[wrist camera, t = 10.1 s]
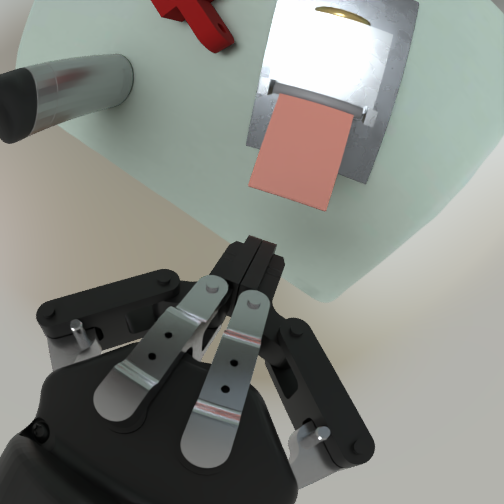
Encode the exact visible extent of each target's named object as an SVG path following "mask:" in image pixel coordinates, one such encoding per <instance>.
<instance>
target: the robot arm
mask: <svg viewBox="0 0 504 504" xmlns="http://www.w3.org/2000/svg"><path fill="white" fill-rule="evenodd" d="M132 82H133V72H132V67H131V65H130V63H129V61H128V60H127V59H126V58H125V57H124V56H122V55H119V54H108V55H93V56H84V57H75V58H68V59H62V60H56V61H50V62H45V63H41V64H36V65H31V66H27V67H23V68H19V69H16V70H13V71H9V72H6V73H3V74H0V139H1V140H3V142H5V143H8V144H11V143H15V142H17V141H19V140H22V139H24V138H26V137H28V136H31V135H33V134H35V133H37V132H40V131H42V130H44V129H47V128H49V127H52V126H55V125H57V124H60V123H63V122H65V121H68V120H71V119H74V118H77V117H80V116H83V115H86V114H89V113H93V112H96V111H100V110H103V109H107V108H110V107H114V106H117V105H119V104H121V103H122V102H123V101H124V100H125V99H126V98H127V96H128V94H129V92H130V90H131V87H132ZM276 246H277V244H274V243H271V242H268V241H265V240H262V239H259V238H256V237H253V236H250V235H249V236H248V238H247V239H246V241H245V243H241V242H238V241H236V242H234V243H232V244H230V245H229V246H228V248H227V249H226V251H225V253H223V255H222V257H221V258H220V259H219V261H218V262H217V264H216V265H215V267H214V268H213V270H212V271H211V273H210V274H209V275H207V276H204V277H202V278H201V279H199V281H197V282H188V281H180V279H179V276H178V275H177V273H175V272H174V271H172V270H169V269H160V270H157V271H153V272H149V273H146V274H142V275H138V276H135V277H131V278H128V279H124V280H121V281H117V282H113V283H110V284H106V285H103V286H99V287H96V288H92V289H89V290H85V291H82V292H78V293H75V294H72V295H68V296H64V297H61V298H57V299H54V300H50V301H47V302H45V303H43V304H42V305H41V306H40V307H39V309H38V311H37V314H36V319H37V321H38V323H39V325H40V326H41V328H42V330H43V332H44V334H45V336H46V337H47V340H48V347H49V353H50V358H51V363H52V369H53V372H52V373H51V374H50V375H49V376H48V377H47V378H46V380H45V381H44V383H43V386H42V390H41V397H40V403H39V408H38V411H37V414H36V417H35V419H34V420H33V421H32V423H31V424H30V425H28V426H27V427H26V428H25V429H24V430H22V431H21V432H19V433H18V434H16V435H15V436H14V437H13V438H12V439H11V440H10V441H9V443H8V445H7V447H6V448H5V450H4V451H3V453H2V455H1V457H0V504H294V503H295V501H296V498H297V494H298V489H301V488H303V487H305V486H307V485H310V484H312V483H314V482H316V481H318V480H320V479H322V478H324V477H327V476H328V475H331V474H332V473H334V472H337V471H340V470H344V469H347V468H351V467H354V466H357V465H360V464H363V463H366V462H367V461H369V460H370V459H371V457H372V456H373V454H374V450H375V444H374V440H373V438H372V436H371V435H370V433H369V431H368V429H367V427H366V426H365V424H364V422H363V420H362V418H361V417H360V415H359V413H358V411H357V409H356V407H355V406H354V404H353V402H352V400H351V399H350V397H349V395H348V393H347V391H346V390H345V388H344V386H343V384H342V383H341V381H340V379H339V377H338V375H337V374H336V372H335V370H334V368H333V366H332V365H331V363H330V361H329V359H328V358H327V356H326V354H325V352H324V351H323V349H322V347H321V345H320V344H319V342H318V340H317V339H316V337H315V335H314V333H313V331H312V330H311V328H310V326H309V325H308V324H307V323H306V322H305V321H303V320H301V319H298V318H288V319H285V318H283V317H282V316H280V315H279V314H278V313H277V312H276V311H275V309H274V307H273V304H272V300H273V297H274V294H275V291H276V288H277V286H278V283H279V280H280V277H281V274H282V272H283V269H284V266H285V263H284V259H283V257H281V256H278V255H275V254H274V253H275V250H276ZM226 315H227V316H230V317H231V319H230V322H229V324H228V327H227V329H226V330H225V331H224V333H223V336H222V338H221V341H220V343H219V346H218V349H217V351H216V354H215V357H214V359H213V362H212V364H209V363H204V362H201V360H202V357H203V355H204V353H205V352H206V350H207V349H208V347H209V346H210V344H211V342H212V341H213V339H214V338H215V336H216V335H217V333H218V332H219V330H220V328H221V326H222V323H223V321H224V319H225V317H226ZM140 338H142V339H141V341H140V342H136V343H132V344H129V345H126V346H123V347H120V348H118V349H115V350H112V351H109V352H106V353H104V354H101V351H102V350H105V349H109V348H112V347H115V346H118V345H122V344H124V343H127V342H131V341H134V340H137V339H140ZM100 354H101V355H100ZM258 355H259V356H260V357H262V358H263V359H265V364H266V367H267V369H268V371H269V374H270V376H271V378H272V381H273V383H274V385H275V387H276V389H277V392H278V394H279V396H280V398H281V400H282V403H283V405H284V407H285V409H286V411H287V413H288V416H289V418H290V420H291V422H292V424H293V426H294V428H295V430H296V431H294V432H293V433H292V434H291V436H290V437H289V440H288V446H289V449H290V458H289V460H288V459H287V456H286V454H285V452H284V449H283V447H282V444H281V442H280V439H279V437H278V434H277V432H276V429H275V427H274V424H273V422H272V419H271V417H270V414H269V412H268V409H267V407H266V404H265V402H264V400H263V398H262V396H261V395H260V394H259V392H258V391H257V390H256V389H255V388H254V387H253V386H252V385H251V384H250V381H251V378H252V375H253V371H254V368H255V364H256V360H257V357H258Z"/></svg>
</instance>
